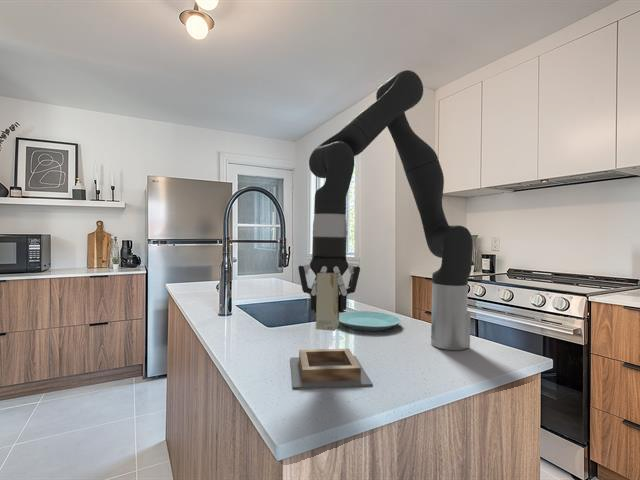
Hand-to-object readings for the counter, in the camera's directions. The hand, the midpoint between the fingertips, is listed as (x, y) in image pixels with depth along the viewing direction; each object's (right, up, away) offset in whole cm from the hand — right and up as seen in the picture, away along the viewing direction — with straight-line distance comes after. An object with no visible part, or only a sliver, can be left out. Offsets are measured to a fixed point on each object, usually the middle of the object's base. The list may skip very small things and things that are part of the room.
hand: (328, 311), depth 75 cm
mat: (0, -13, 0) cm, 13 cm away
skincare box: (0, -4, 0) cm, 4 cm away
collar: (0, -13, 0) cm, 13 cm away
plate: (+14, -13, +40) cm, 45 cm away
